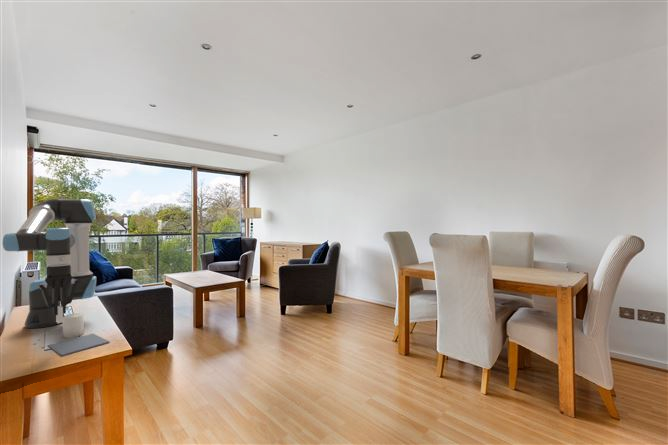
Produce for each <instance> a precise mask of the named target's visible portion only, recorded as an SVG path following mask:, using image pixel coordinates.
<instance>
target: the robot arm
mask: <svg viewBox="0 0 668 445" xmlns="http://www.w3.org/2000/svg"><path fill="white" fill-rule="evenodd" d="M96 215H97V214H96V209H95V205H94V202H93V201H92V200H91V199H87V198H85V199H83V198H50V199H47V200H44V201H41V202H39V203H36V205H33V206H32V207H31V209H30V210H29V212H28V217H27V219H26V220H25V221H24V222H23V224H22V225H21V226H20V228H19V229H18V230H17V231H16V232H12V233H5V234H4V235H3V237H2V248H3V250H4V251H6V252H18V253H19V252H31V251H46V253H45V254H46V256H45V257H46V261H45V264H46V266H47V267H46V271H45V272H46V275H45V276H46V277H45V278H40V279H36V280H33V281H31V282H30V283H29V286H28V287H29V288H28V298H29V302H28V304H29V305H28V306H29V309H28V310H29V311H28V314H27V316H26V319H25V321H24V328H25V329H39V328H46V327H51V326H55V325H58V324H61V323H62V324H63V317H64V316H66V315H65V314H66V312H67V309H66V308H67V306H68V305H70V304H72V302H73V301H77V300H84V299H91V298H92V297H94V295H95V290H96V288H97V276H95V275H94V272H92V271H91V270H90V227H91V225H93V221H96V219H97V217H96ZM54 221H55V222H57V221H58V222H59V221H60V222H61V221H63V222H64V225H65V226H67V227H53V228H52V227H51V228H50V227H49V228H47V226H48V225H49V223H51V222H54ZM46 228H47V229H46ZM45 229H46V232H45Z"/></svg>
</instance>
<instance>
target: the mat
mask: <svg viewBox="0 0 668 445" xmlns="http://www.w3.org/2000/svg"><path fill="white" fill-rule="evenodd" d="M109 343H110V341H109V340H107V339H105V338H104V337H102V336H99V335H97V334H96V333H90V334H86V335H83V336H81V335H80V336H79V337H78V336H77V337H73V338H70V339H65V340H62V341H59V342H55V343H51V344H47V347H48V348H50V349H51V350H52V351H54V352H55V353H56V354H57V355H59V356H61V357H64V356H68V355H72V354H74V353H79V352H81V351H86V350H90V349H92V348H96V347H99V346H103V345H106V344H109Z"/></svg>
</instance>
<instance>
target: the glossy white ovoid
mask: <svg viewBox="0 0 668 445" xmlns="http://www.w3.org/2000/svg"><path fill="white" fill-rule="evenodd" d="M84 320H85V315H84V313H82V312H81V313H72V314H68V315H65V316H64V317H63V322H62V337H63V338H76V337H78V336H79V337H80V336H81V335H84V333H85V321H84Z"/></svg>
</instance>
